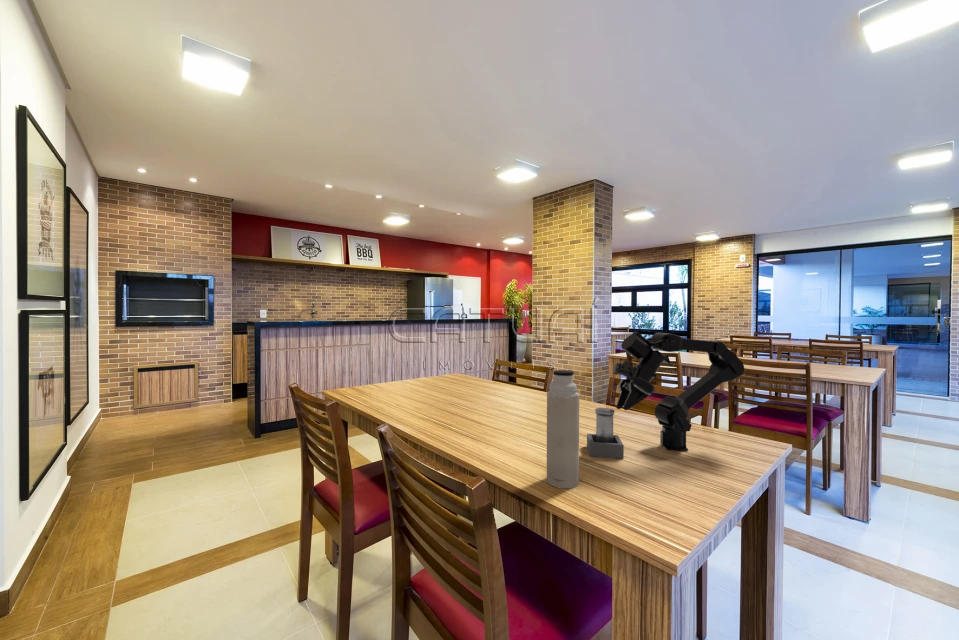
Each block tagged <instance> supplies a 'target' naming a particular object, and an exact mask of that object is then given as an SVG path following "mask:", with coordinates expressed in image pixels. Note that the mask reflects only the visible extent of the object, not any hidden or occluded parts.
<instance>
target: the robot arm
mask: <svg viewBox="0 0 959 640" xmlns="http://www.w3.org/2000/svg"><path fill="white" fill-rule="evenodd" d="M621 349H623V350H624V351H625V352H626V353H628V354H629V355H630V356H632V357H633V358H634V359H636V360H639V359H640V360H639V361H638V363H637V364H636V365H634V366H633V365H632V364H631V362H630V361H628V360H624V361H623V362H622V363H620V362H617V363H615V364H614V366H613V371H612V374H613V375H619V376H624V377H626V378H625V379H621V380H620V381H619V382H618V384H617V385H618V388H619V391H620V393H619V396H618V400H617V403H616V406H615V408H616V409H618V410H621V409H624V411H627V410H629V409H630V408H632V407H634V406H635V405H637V404H638V403H640V402H642V401H643V400H645V399H646V398H649V397H650V396H652V395H653V393H654V392H655V390H656V389H655V385H654V384H653V383H651V382H652V379H655V378H657V372H658V370H659V368H660V367H661V366H662V364H671V360H670V358H669V354H663V353H662V352H666V353H672V352H673V353H674V352H680V351H693V352H695V351H696V352H705V353H706V354H708V360H709V362H710V363H711V364H710V366H709V370H708V371H707V373H706V374H705V375H703V376H702V377H701V378H699V379H698V380H697V381H696V382H694V383H693V384H692V385H690V386H689V387H688V388H687V389H686V390H684V391H683V392H681V393H680V394H679V395H678V396H676V397H671V396H670V395H669V396H668V395H667V396H665V397H664V398H663V399H662V400H661V401H658V402H657V405H656V406H655V407H654V416H655V418H656V419H657V421H658V424H659V425H660V426H661V428H662V429H661V430H660V434H659V435H660V437H659V438H660V442H659V443H660V444H661V445H662V447H664V449H665V450H667V451H668V450H669V451H671V450H672V451H689V448H688V447H687V432H690V431H691V428H692V423H691V422H690V421H689V420H688V419H687V418H688V415H689V412H690V409H691V408H693V407H694V406H695V405H696V404H698V402H700V401H701V400H703V398H705V397H706V396H708V395H709V394H710V393H711V392H712V391H714V390H715V389H717V388H718V387H719V386H720V385H722V384H723V383H724V384H725V383H727V382H731V381H735V380H736V379H738V378H740V377H741V376H742V375H744V373H745V365H744V362H743V361H742V360H741V359H740V358H739V357H738V355H736V354H735V353H734V351H731V350H730V349H729V348H728V346H726V344H725V343H724V342H723V341H721V340H703V339H695V338H694V339H691V338H686V337H682V336H680V335H677V334H674V333H668V332H667V333H665V332H655V333H654V334H653V335H652V336H651V337H649V338H646V337H644V336H643V335H642V334H641V333H640V332H638V331H633V332H632V334H630V335H629V336H626V338H624V339H623V341H622V343H621Z"/></svg>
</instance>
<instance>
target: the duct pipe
mask: <svg viewBox="0 0 959 640" xmlns="http://www.w3.org/2000/svg"><path fill="white" fill-rule="evenodd" d="M594 410H595V411H594V413H595V415H596V416H595V419H596V420H595V421H596V423H595V425H596V426H595V427H596V428H595V434H596V442H601V443H613V435H614V415H615V409H613V408H609V407H596V408H594Z"/></svg>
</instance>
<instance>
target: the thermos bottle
mask: <svg viewBox="0 0 959 640" xmlns="http://www.w3.org/2000/svg"><path fill="white" fill-rule="evenodd" d="M573 376H574V371H572V370H566V369H565V370H564V369H559V370H557V369H556V370H553V378H552V379H553V381H551V382H550V383H549V387H548V388H549V390H548V391H547V393H546V482H547V483H548V485H550V486H552V487H555V488H558V489H559V488H560V489H573V488H576V487H578V485H579V484H580V453H579V450H580V393H579V392H577V391H578V386H577V384H576V383H574V377H573Z"/></svg>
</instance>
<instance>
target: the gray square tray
mask: <svg viewBox="0 0 959 640" xmlns="http://www.w3.org/2000/svg"><path fill="white" fill-rule="evenodd" d="M624 446H625V445H624V444H623V442H622V439H621V437H619V435H618V434H613V443H601V442H596V433H586V447H587V451H588V453H589V454H588V455H589V456H590V457H591V458H592V457H593V458H609V459H622V460H623V459H624V458H625V457H624V453H625V452H624Z"/></svg>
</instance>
